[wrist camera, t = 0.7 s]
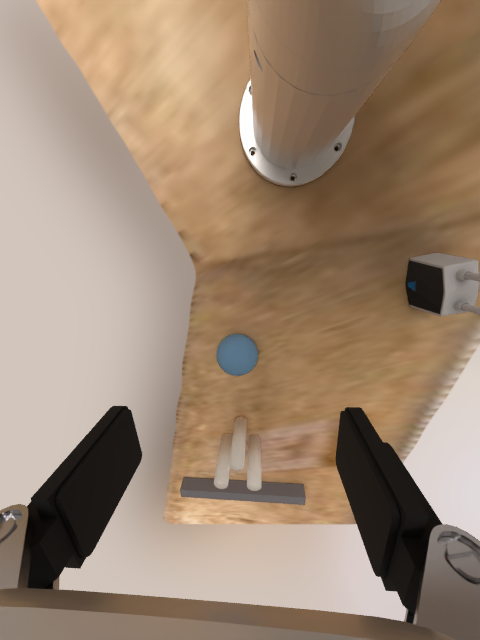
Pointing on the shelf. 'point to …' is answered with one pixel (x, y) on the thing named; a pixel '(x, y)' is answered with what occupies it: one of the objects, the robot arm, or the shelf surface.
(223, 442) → the pin
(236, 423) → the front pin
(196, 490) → the grey long square bar
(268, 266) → the shelf surface
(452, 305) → the padlock
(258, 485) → the pin
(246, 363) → the ball
